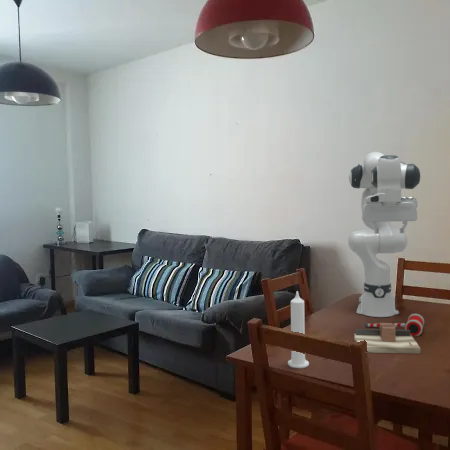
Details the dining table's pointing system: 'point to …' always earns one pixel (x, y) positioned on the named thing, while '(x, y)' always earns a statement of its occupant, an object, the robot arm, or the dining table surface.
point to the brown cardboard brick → (387, 332)
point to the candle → (297, 330)
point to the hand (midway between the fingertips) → (389, 233)
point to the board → (376, 344)
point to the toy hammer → (408, 324)
